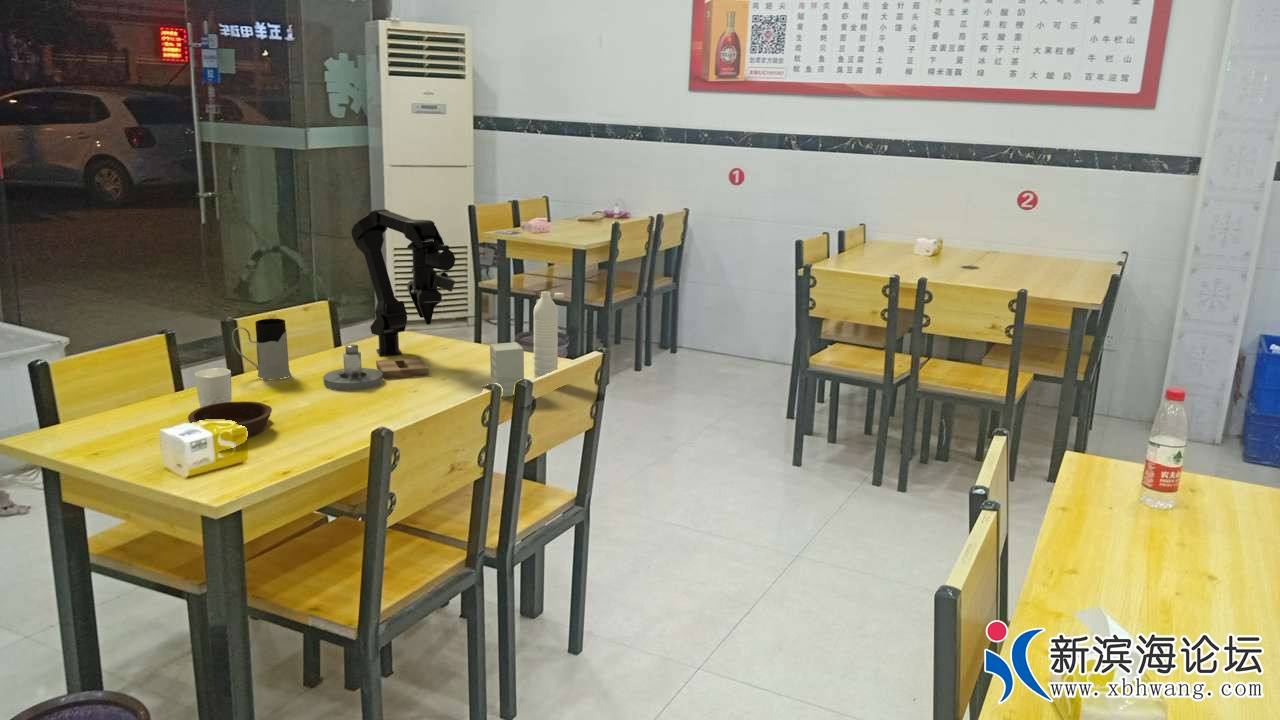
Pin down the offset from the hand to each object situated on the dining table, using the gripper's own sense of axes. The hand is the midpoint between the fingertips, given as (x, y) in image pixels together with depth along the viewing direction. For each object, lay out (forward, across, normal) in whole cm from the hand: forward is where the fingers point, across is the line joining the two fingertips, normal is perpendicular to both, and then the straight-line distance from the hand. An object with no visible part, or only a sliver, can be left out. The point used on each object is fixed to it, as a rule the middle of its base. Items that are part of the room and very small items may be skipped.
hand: (425, 320), depth 288 cm
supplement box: (+13, -35, -14) cm, 40 cm away
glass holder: (+13, 0, +44) cm, 46 cm away
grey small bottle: (+12, -13, +22) cm, 28 cm away
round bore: (+12, -13, +22) cm, 28 cm away
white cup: (+13, -29, +56) cm, 64 cm away
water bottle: (+13, -30, -27) cm, 42 cm away
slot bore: (+12, -6, +8) cm, 16 cm away
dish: (+13, -45, +53) cm, 71 cm away
